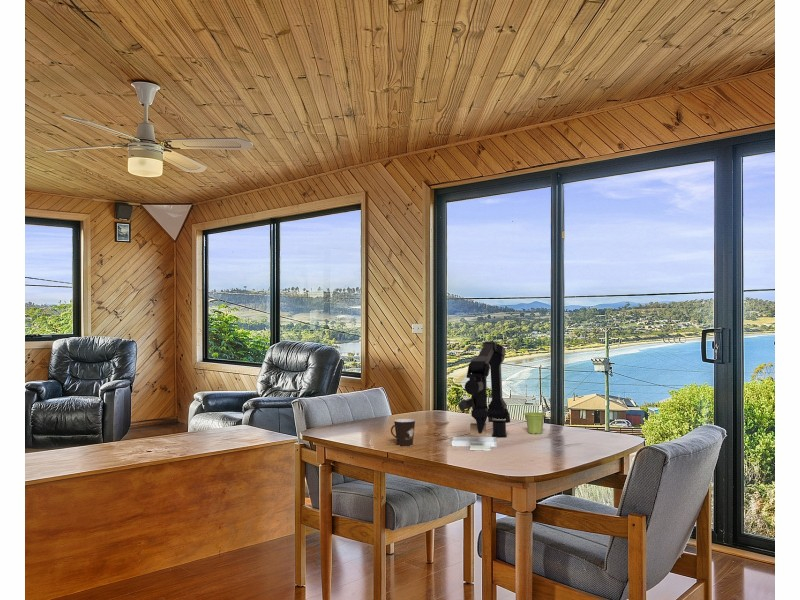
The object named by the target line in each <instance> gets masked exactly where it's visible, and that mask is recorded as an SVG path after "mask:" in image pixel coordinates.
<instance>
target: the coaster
mask: <svg viewBox="0 0 800 600" xmlns="http://www.w3.org/2000/svg"><path fill="white" fill-rule="evenodd" d="M491 448H492V447H491V445H470V446H469V451H470V450H483V451H482V452H491V450H492V449H491Z"/></svg>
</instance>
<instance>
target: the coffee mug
mask: <svg viewBox="0 0 800 600" xmlns="http://www.w3.org/2000/svg"><path fill="white" fill-rule="evenodd" d="M393 423H394V424H393V425H392V426H391V428H390V433H391V435H392V436H393V437H394V438H395V439H396V445H400V446H399V447H402V446H407V447H411V446H410V445H412V446H413V445H414V436H415V426H416V425H415V424H416V420H415V419H413V418H398V419H394V422H393ZM393 429H394V431H395V434H394V431H393Z"/></svg>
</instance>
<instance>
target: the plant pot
mask: <svg viewBox="0 0 800 600" xmlns="http://www.w3.org/2000/svg"><path fill="white" fill-rule="evenodd" d="M523 415H524V418H525V419H526V421H525V422H526V426H527V433H528V434H531V433H532V435H535V434H537V435H539V434H540V435H541V434H543V427H544V419H545V415H546V413H544V412H537V411H535V412H533V411H532V412H525V413H523Z"/></svg>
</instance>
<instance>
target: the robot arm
mask: <svg viewBox="0 0 800 600" xmlns="http://www.w3.org/2000/svg"><path fill="white" fill-rule="evenodd" d="M482 346H483V347H481V350H480V351H479V354H478V356H477V357H474V358H472V359H471V360H470V363H468V367H467V371H466V379H469V380H467V381H466V382H465V384H464V390H465V393H467V394H468V395H471V397H470V398H466V399H462V400H460V401H458V403H457V405H458V408H459V410H460V412H463V411H464V410H467V409H469V408H471V413H470V414H471V415H470V416H471V417H472V418H473V419H474V420H475V421H476V422H475V423H477V427H478V432H479V433H482V430H483V428H484V425H485V423H487V422H488V423H492V433H491V437H496V438H507V437H508V434H507V424H508V423H511V416H510V413H509V409H508V407H507V403H506V401H505V400H504V398H503V385H502V384H503V381H502V380H503V379H502V378H503V377H502V364H503V363H504V361H505V357H506V348H505V347H504V346H503V345H501V344H499V343H497V341H484V342H483V345H482ZM489 375H490V385H491V387H490V388H491V401H490V402H489V404H488V395H487V392H488V389H487V388H488V387H487V386H488V385H487V379H488V377H489ZM487 420H488V421H487Z"/></svg>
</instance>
